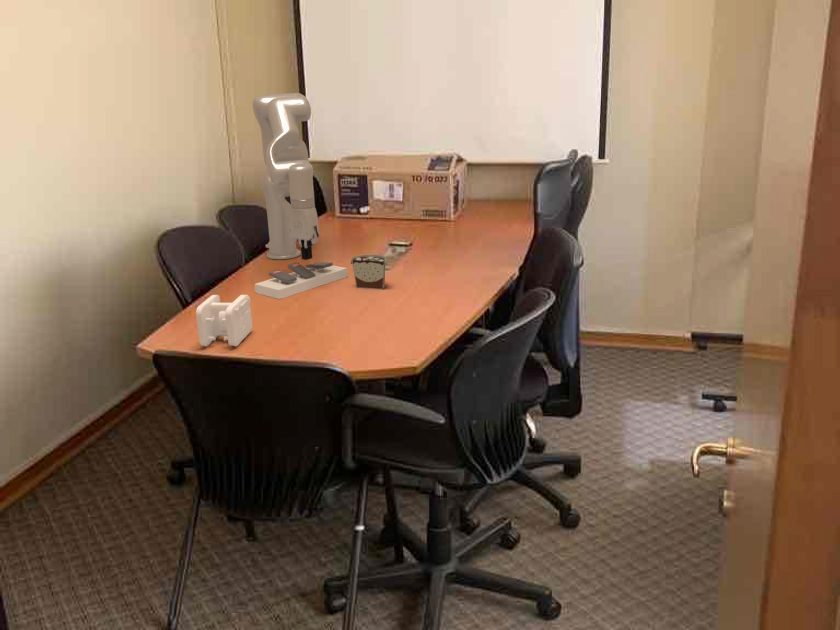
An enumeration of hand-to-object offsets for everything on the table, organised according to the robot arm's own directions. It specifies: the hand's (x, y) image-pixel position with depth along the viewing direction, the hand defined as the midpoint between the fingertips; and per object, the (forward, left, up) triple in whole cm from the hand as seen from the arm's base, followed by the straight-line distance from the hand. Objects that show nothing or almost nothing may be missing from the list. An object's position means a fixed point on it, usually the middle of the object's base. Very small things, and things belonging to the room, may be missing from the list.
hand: (307, 258), depth 285 cm
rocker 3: (-3, +8, -5) cm, 10 cm away
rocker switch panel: (-3, 0, -9) cm, 10 cm away
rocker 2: (-3, 0, -5) cm, 6 cm away
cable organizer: (+20, -48, -10) cm, 53 cm away
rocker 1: (-3, -8, -5) cm, 10 cm away
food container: (+18, +12, -10) cm, 23 cm away
